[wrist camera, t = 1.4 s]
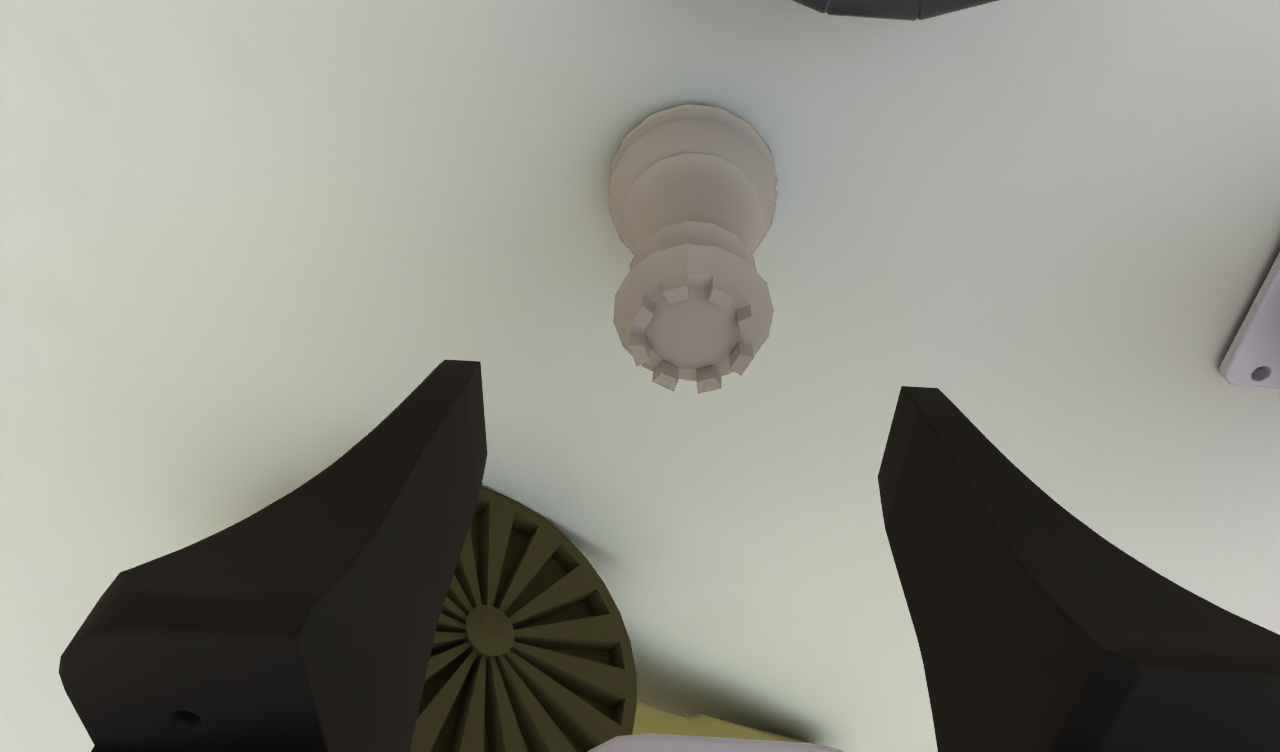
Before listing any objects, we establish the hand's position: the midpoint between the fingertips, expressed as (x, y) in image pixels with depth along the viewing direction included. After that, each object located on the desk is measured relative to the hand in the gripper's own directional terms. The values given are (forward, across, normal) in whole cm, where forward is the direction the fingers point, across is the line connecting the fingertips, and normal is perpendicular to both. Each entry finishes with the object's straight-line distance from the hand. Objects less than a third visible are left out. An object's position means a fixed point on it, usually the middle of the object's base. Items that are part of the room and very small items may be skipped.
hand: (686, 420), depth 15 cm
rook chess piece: (+11, 0, 0) cm, 11 cm away
